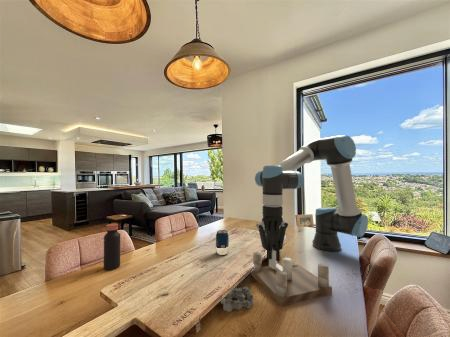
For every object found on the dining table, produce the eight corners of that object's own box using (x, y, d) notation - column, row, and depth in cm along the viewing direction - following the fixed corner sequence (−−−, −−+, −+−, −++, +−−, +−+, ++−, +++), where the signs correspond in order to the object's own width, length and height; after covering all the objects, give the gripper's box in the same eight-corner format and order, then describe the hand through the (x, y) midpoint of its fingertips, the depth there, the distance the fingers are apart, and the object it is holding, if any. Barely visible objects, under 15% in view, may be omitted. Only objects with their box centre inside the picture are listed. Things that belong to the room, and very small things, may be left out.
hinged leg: (268, 265, 91) (268, 249, 91) (275, 264, 92) (275, 248, 92) (286, 280, 78) (286, 262, 78) (294, 278, 79) (294, 260, 79)
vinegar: (100, 270, 92) (100, 226, 93) (109, 264, 99) (109, 222, 100) (115, 270, 92) (115, 226, 93) (123, 264, 99) (123, 222, 99)
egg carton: (223, 314, 64) (223, 301, 64) (219, 299, 72) (219, 287, 72) (255, 309, 67) (255, 296, 67) (248, 295, 74) (248, 284, 74)
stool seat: (294, 266, 96) (294, 246, 96) (333, 293, 75) (333, 267, 75) (250, 273, 89) (250, 252, 89) (279, 306, 68) (279, 277, 68)
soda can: (215, 251, 115) (215, 229, 115) (227, 250, 115) (227, 229, 116) (216, 256, 108) (216, 233, 108) (229, 255, 108) (229, 233, 109)
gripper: (281, 203, 84) (281, 260, 84) (252, 204, 80) (252, 265, 80) (292, 206, 77) (292, 269, 77) (262, 207, 73) (262, 274, 73)
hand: (272, 267), depth 78 cm, fingers closed
